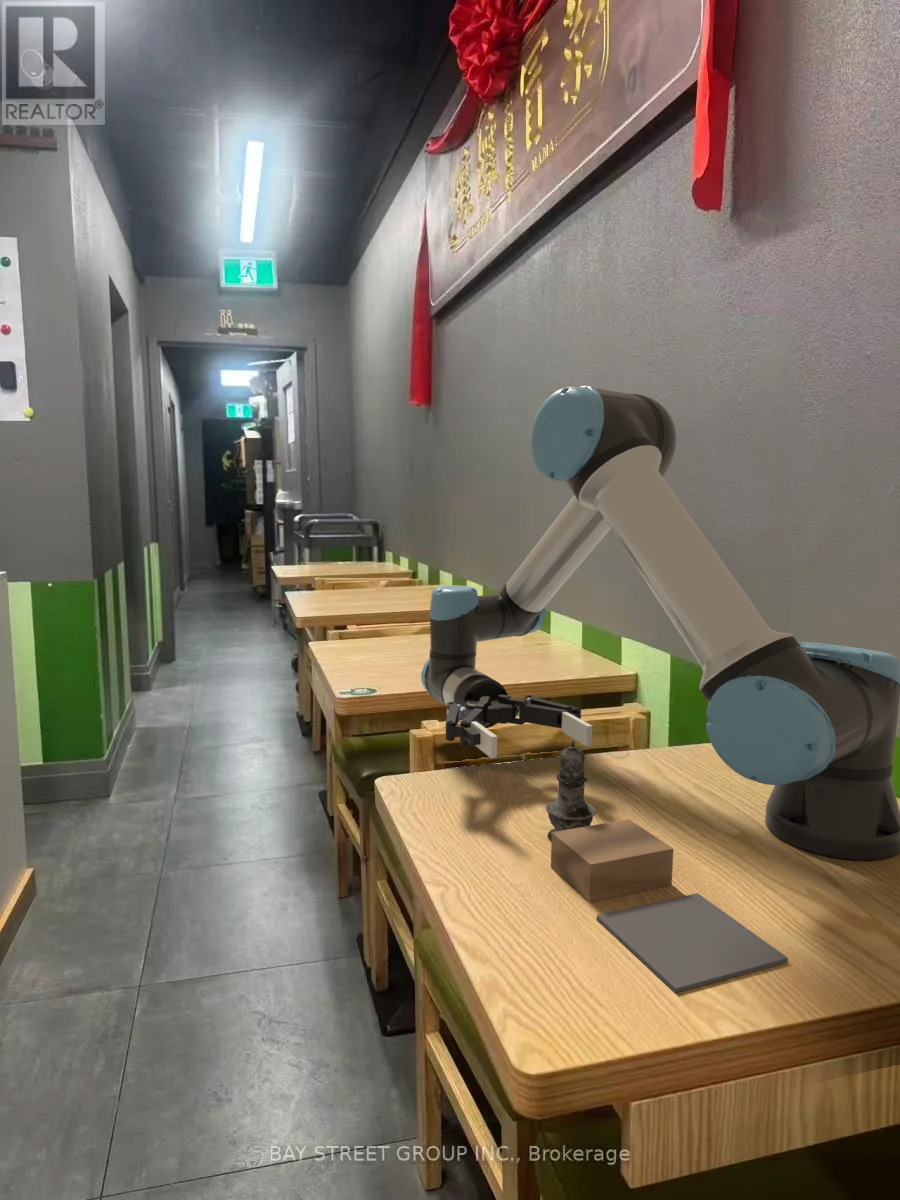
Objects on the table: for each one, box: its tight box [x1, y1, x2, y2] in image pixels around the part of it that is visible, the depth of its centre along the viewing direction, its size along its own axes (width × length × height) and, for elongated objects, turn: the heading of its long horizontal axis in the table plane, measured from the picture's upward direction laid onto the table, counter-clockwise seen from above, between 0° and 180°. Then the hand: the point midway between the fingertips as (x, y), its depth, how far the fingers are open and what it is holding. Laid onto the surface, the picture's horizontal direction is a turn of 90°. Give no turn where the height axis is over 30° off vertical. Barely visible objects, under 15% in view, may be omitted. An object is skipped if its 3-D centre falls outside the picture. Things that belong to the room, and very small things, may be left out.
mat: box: [596, 892, 789, 993], centre depth 72 cm, size 12×12×1 cm
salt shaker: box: [545, 739, 597, 842], centre depth 93 cm, size 6×6×12 cm
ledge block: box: [550, 818, 674, 903], centre depth 84 cm, size 8×10×4 cm
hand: (543, 741), depth 99 cm, fingers open, 13 cm apart
